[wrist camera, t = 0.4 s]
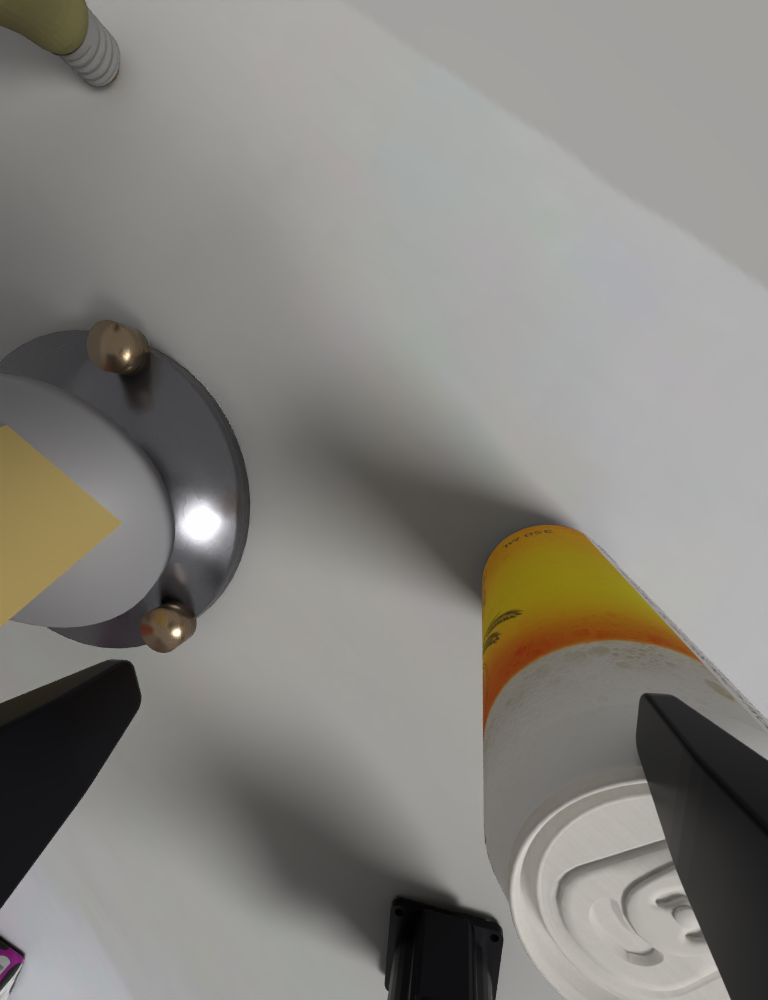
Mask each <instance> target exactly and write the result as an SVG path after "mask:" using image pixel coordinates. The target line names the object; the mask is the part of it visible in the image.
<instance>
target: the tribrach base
mask: <svg viewBox="0 0 768 1000" xmlns="http://www.w3.org/2000/svg"><path fill="white" fill-rule="evenodd" d="M0 373H2V374H12V375H18V376H23V377H29V378H33V379H36V380H39V381H43V382H46V383H49V384H52V385H54V386H57V387H59V388H62V389H64V390H66V391H69V392H71V393H73V394H75V395H77V396H78V397H80V398H82V399H84V400H86V401H87V402H89V403H91V404H93V405H94V406H95V407H97V408H98V409H100V410H101V411H103V412H104V413H106V414H107V415H108V416H110V417H111V418H112V419H113V420H114V421H116V422H117V423H118V424H119V425H120V426H121V427H123V428H124V429H125V430H126V431H127V432H128V433H129V434H130V435H131V436H132V437H133V438H134V439H135V440H136V442H137V443H138V444H139V445H140V446H141V447H142V449H143V450H144V451H145V452H146V454H147V455H148V456H149V458H150V459H151V460H152V462H153V464H154V465H155V467H156V469H157V470H158V472H159V474H160V475H161V477H162V480H163V482H164V484H165V486H166V488H167V491H168V493H169V497H170V500H171V503H172V507H173V513H174V519H175V540H174V547H173V551H172V554H171V557H170V560H169V563H168V565H167V567H166V569H165V570H164V572H163V574H162V575H161V576H160V578H159V579H158V580H157V582H156V583H155V584H154V585H153V587H152V588H151V589H150V590H149V592H148V593H147V594H146V595H145V597H144V598H143V599H142V600H141V601H139V602H138V603H137V604H136V605H135V606H134V607H132V608H131V609H129V610H128V611H126V612H125V613H123V614H121V615H119V616H117V617H114V618H112V619H110V620H107V621H104V622H100V623H97V624H92V625H87V626H81V627H67V628H63V627H48V628H49V629H51V630H52V631H54V632H56V633H58V634H61V635H63V636H65V637H67V638H69V639H72V640H75V641H78V642H81V643H84V644H88V645H93V646H98V647H104V648H129V647H138V646H142V645H146V644H147V645H148V646H149V647H150V648H151V649H153V650H155V651H157V652H161V653H167V652H170V651H172V650H174V649H175V648H176V647H178V646H179V645H180V644H182V643H183V642H184V641H186V640H187V639H189V638H190V637H191V636H192V635H193V634H194V632H195V630H196V618H198V617H199V616H200V615H201V614H203V613H204V612H205V611H206V610H207V609H208V608H210V607H211V606H212V605H213V604H214V603H215V601H216V600H217V599H218V598H219V597H220V596H221V595H222V593H223V592H224V591H225V589H226V587H227V586H228V584H229V583H230V581H231V580H232V578H233V576H234V574H235V572H236V570H237V567H238V565H239V563H240V561H241V558H242V554H243V551H244V548H245V544H246V540H247V534H248V528H249V517H250V496H249V484H248V478H247V473H246V468H245V463H244V459H243V456H242V453H241V450H240V447H239V444H238V441H237V439H236V437H235V435H234V432H233V430H232V428H231V426H230V424H229V422H228V420H227V418H226V417H225V415H224V413H223V412H222V410H221V409H220V407H219V405H218V404H217V402H216V401H215V400H214V398H213V397H212V396H211V395H210V394H209V392H208V391H207V390H206V389H205V387H204V386H203V385H202V384H201V383H200V382H199V381H198V380H197V379H196V378H195V377H194V376H193V375H192V374H191V373H190V372H189V371H187V370H186V369H185V368H183V367H182V366H181V365H179V364H178V363H177V362H175V361H174V360H173V359H171V358H170V357H168V356H166V355H164V354H162V353H160V352H159V351H157V350H155V349H153V348H150V347H149V344H148V341H147V339H146V338H145V336H144V335H143V334H142V333H141V332H140V331H138V330H136V329H134V328H131V327H128V326H125V325H122V324H118V323H115V322H112V321H107V320H105V321H100V322H98V323H97V324H95V325H94V326H93V327H92V328H91V330H90V331H79V330H73V331H64V332H56V333H52V334H49V335H45V336H41V337H38V338H36V339H34V340H32V341H30V342H28V343H25V344H23V345H22V346H20V347H19V348H17V349H16V350H14V351H13V352H11V353H10V354H9V355H7V356H6V357H5V358H4V359H3V360H2V361H1V362H0Z"/></svg>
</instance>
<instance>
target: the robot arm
mask: <svg viewBox="0 0 768 1000" xmlns="http://www.w3.org/2000/svg"><path fill="white" fill-rule="evenodd" d="M140 704H141V692H140V688H139V684H138V680H137V676H136V672H135V668H134V666H133V664H132V663H131V662H130V661H127V660H115V659H111V660H106V661H104V662H101V663H99V664H96V665H94V666H91V667H89V668H86V669H84V670H81V671H79V672H76V673H74V674H72V675H69V676H67V677H64V678H62V679H59V680H57V681H54V682H52V683H49V684H47V685H44V686H42V687H40V688H37V689H35V690H32V691H30V692H27V693H25V694H22V695H20V696H17V697H15V698H12V699H10V700H8V701H5V702H3V703H0V909H1V908H2V906H3V905H4V903H5V902H6V901H7V899H8V898H9V897H10V895H11V894H12V893H13V891H14V890H15V888H16V887H17V886H18V884H19V883H20V882H21V880H22V879H23V878H24V876H25V875H26V874H27V872H28V871H29V869H30V868H31V867H32V865H33V864H34V863H35V861H36V860H37V859H38V857H39V856H40V855H41V853H42V852H43V850H44V849H45V848H46V846H47V845H48V844H49V842H50V841H51V840H52V838H53V837H54V836H55V834H56V833H57V831H58V830H59V829H60V827H61V826H62V825H63V823H64V822H65V821H66V819H67V818H68V816H69V815H70V814H71V812H72V811H73V810H74V808H75V807H76V806H77V804H78V803H79V801H80V800H81V799H82V797H83V796H84V794H85V793H86V791H87V790H88V788H89V787H90V785H91V784H92V782H93V781H94V779H95V778H96V776H97V775H98V773H99V771H100V770H101V768H102V767H103V765H104V764H105V762H106V760H107V759H108V757H109V756H110V754H111V752H112V751H113V749H114V748H115V746H116V745H117V743H118V741H119V740H120V738H121V737H122V735H123V733H124V732H125V730H126V729H127V727H128V725H129V724H130V722H131V721H132V719H133V718H134V716H135V714H136V713H137V711H138V709H139V707H140ZM636 747H637V752H638V755H639V758H640V761H641V765H642V768H643V771H644V774H645V777H646V780H647V783H648V786H649V789H650V792H651V796H652V799H653V802H654V805H655V808H656V811H657V814H658V817H659V820H660V823H661V826H662V830H663V833H664V836H665V839H666V842H667V845H668V848H669V851H670V854H671V857H672V860H673V863H674V866H675V869H676V871H677V874H678V876H679V879H680V881H681V884H682V886H683V889H684V891H685V894H686V896H687V898H688V901H689V903H690V905H691V908H692V910H693V912H694V915H695V917H696V919H697V922H698V924H699V926H700V929H701V931H702V933H703V936H704V938H705V940H706V943H707V945H708V948H709V950H710V952H711V955H712V957H713V959H714V962H715V964H716V966H717V969H718V971H719V973H720V976H721V978H722V980H723V983H724V985H725V987H726V990H727V992H728V994H729V997H730V999H731V1000H768V760H767V759H766V758H764V757H763V756H761V755H760V754H758V753H757V752H755V751H754V750H753V749H751V748H750V747H748V746H747V745H745V744H744V743H742V742H741V741H740V740H738V739H737V738H735V737H734V736H732V735H731V734H729V733H728V732H726V731H725V730H724V729H722V728H721V727H719V726H718V725H716V724H715V723H713V722H712V721H710V720H709V719H708V718H706V717H705V716H703V715H702V714H700V713H699V712H697V711H696V710H695V709H693V708H692V707H690V706H689V705H687V704H686V703H684V702H683V701H681V700H680V699H679V698H677V697H675V696H674V695H671V694H662V693H644V694H642V695H641V697H640V700H639V707H638V717H637V727H636ZM502 947H503V931H502V928H501V926H499V925H498V924H496V923H493V922H489V921H485V920H482V919H478V918H474V917H470V916H466V915H462V914H459V913H455V912H451V911H447V910H443V909H439V908H436V907H432V906H428V905H424V904H420V903H417V902H413V901H409V900H405V899H401V898H396V899H394V900H393V901H392V906H391V914H390V926H389V938H388V951H387V963H386V975H385V988H386V989H387V990H388V991H389V992H388V999H387V1000H495V998H496V991H497V983H498V976H499V969H500V961H501V954H502Z"/></svg>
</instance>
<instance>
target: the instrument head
mask: <svg viewBox="0 0 768 1000" xmlns="http://www.w3.org/2000/svg"><path fill="white" fill-rule="evenodd" d="M174 540H175V519H174V513H173V507H172V503H171V500H170V497H169V493H168V491H167V488H166V486H165V484H164V482H163V480H162V477H161V475H160V474H159V472H158V470H157V469H156V467H155V465H154V464H153V462H152V460H151V459H150V458H149V456H148V455H147V454H146V452H145V451H144V450H143V449H142V447H141V446H140V445H139V444H138V443H137V442H136V440H135V439H134V438H133V437H132V436H131V435H130V434H129V433H128V432H127V431H126V430H125V429H124V428H123V427H121V426H120V425H119V424H118V423H117V422H116V421H114V420H113V419H112V418H111V417H110V416H108V415H107V414H106V413H104V412H103V411H101V410H100V409H98V408H97V407H95V406H94V405H93V404H91V403H89V402H87V401H86V400H84V399H82V398H80V397H78V396H77V395H75V394H73V393H71V392H69V391H66V390H64V389H62V388H59V387H57V386H54V385H52V384H49V383H46V382H43V381H39V380H36V379H33V378H29V377H23V376H18V375H12V374H2V373H0V627H1V626H2V625H3V624H5V623H6V622H7V621H8V620H9V619H10V620H13V621H17V622H21V623H26V624H30V625H37V626H45V627H63V628H67V627H81V626H87V625H92V624H97V623H100V622H104V621H107V620H110V619H112V618H114V617H117V616H119V615H121V614H123V613H125V612H126V611H128V610H129V609H131V608H132V607H134V606H135V605H136V604H137V603H138V602H139V601H141V600H142V599H143V598H144V597H145V595H146V594H147V593H148V592H149V590H150V589H151V588H152V587H153V585H154V584H155V583H156V582H157V580H158V579H159V578H160V576H161V575H162V574H163V572H164V570H165V569H166V567H167V565H168V563H169V560H170V557H171V554H172V551H173V547H174Z"/></svg>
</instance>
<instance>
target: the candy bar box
mask: <svg viewBox="0 0 768 1000" xmlns="http://www.w3.org/2000/svg"><path fill="white" fill-rule="evenodd" d="M24 961H25V958H24V957H23V956H21V955H20V954H19V953H17V952H16V951H15V950H13V949H12V948H10V947H9V946H8V945H6V944H5V943H4V942H2V941H1V940H0V1000H7V998H8V997H9V995H10V994H11V991H12V989H13V987H14V984H15V981H16V979H17V977H18V974H19V973H20V970H21V968H22V966H23V963H24Z"/></svg>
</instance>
